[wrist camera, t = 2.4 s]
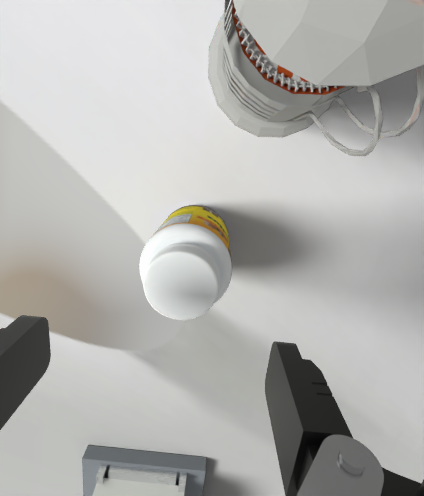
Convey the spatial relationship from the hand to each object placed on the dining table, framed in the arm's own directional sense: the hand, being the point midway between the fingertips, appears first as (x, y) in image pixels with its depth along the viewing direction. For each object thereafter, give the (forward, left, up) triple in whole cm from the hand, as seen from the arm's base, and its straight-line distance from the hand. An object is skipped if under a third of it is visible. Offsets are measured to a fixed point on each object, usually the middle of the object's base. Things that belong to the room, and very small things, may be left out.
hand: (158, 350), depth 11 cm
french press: (-5, -13, -15) cm, 21 cm away
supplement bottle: (0, 0, -15) cm, 15 cm away
